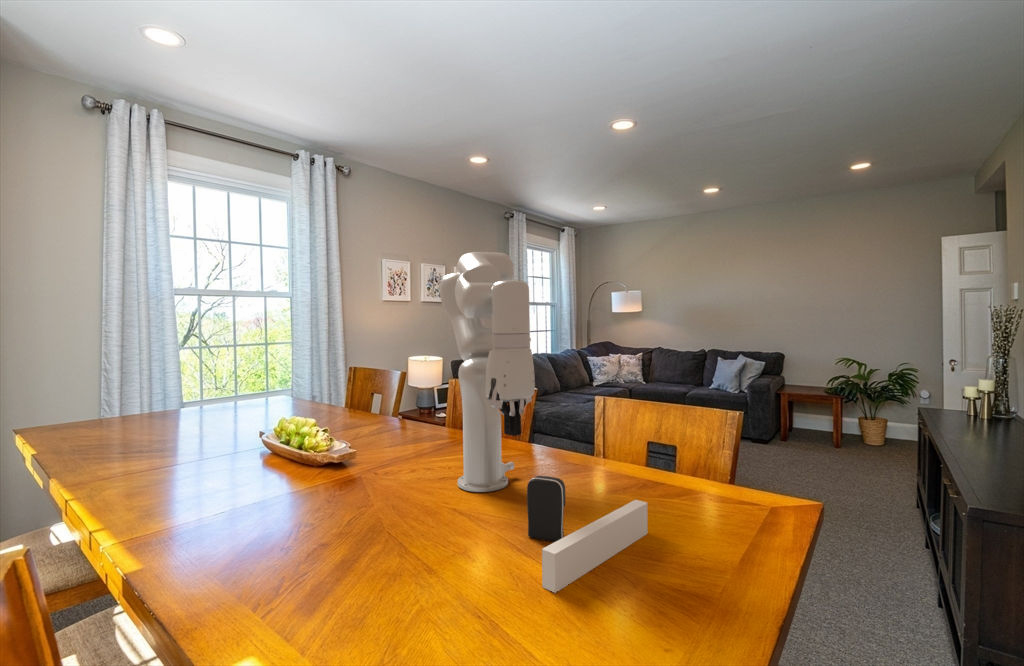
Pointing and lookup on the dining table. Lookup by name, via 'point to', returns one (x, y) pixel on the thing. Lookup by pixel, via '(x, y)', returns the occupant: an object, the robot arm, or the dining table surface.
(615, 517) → the board
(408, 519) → the dining table surface
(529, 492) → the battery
